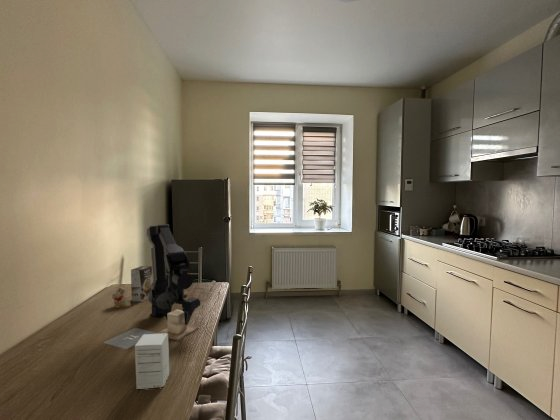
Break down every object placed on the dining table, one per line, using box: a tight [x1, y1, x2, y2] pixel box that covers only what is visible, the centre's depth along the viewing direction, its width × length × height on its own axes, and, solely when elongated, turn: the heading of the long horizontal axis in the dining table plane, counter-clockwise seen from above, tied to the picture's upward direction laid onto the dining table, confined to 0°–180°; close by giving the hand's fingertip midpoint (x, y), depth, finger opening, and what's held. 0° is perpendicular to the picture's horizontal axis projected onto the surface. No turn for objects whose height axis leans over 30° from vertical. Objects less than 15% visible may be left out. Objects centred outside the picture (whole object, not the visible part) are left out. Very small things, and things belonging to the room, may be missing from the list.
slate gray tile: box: [102, 327, 157, 350], centre depth 120 cm, size 14×12×1 cm
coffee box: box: [130, 265, 153, 303], centre depth 165 cm, size 9×6×16 cm
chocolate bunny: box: [111, 286, 132, 309], centre depth 154 cm, size 6×8×10 cm
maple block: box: [166, 309, 187, 334], centre depth 124 cm, size 5×5×7 cm
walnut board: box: [155, 324, 199, 341], centre depth 125 cm, size 11×11×1 cm
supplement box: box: [134, 333, 171, 390], centre depth 91 cm, size 7×7×13 cm
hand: (177, 322), depth 124 cm, fingers open, 9 cm apart
